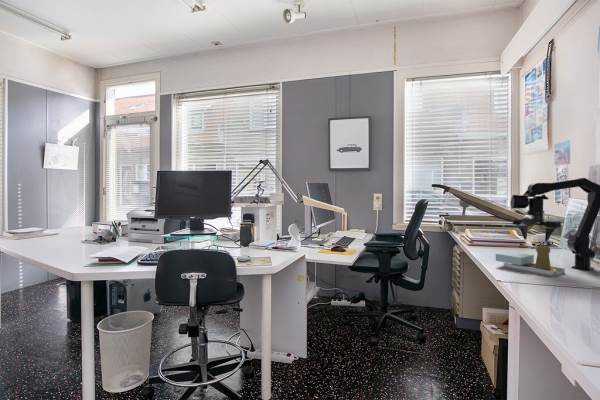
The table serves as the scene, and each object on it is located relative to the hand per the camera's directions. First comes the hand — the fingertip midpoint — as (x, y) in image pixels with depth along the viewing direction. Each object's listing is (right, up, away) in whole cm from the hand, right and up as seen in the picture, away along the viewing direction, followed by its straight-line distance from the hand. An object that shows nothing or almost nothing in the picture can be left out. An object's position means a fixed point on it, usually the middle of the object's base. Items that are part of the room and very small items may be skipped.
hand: (535, 240), depth 161 cm
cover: (-11, -10, -2) cm, 15 cm away
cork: (-5, -12, -12) cm, 18 cm away
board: (-7, -13, -9) cm, 17 cm away
